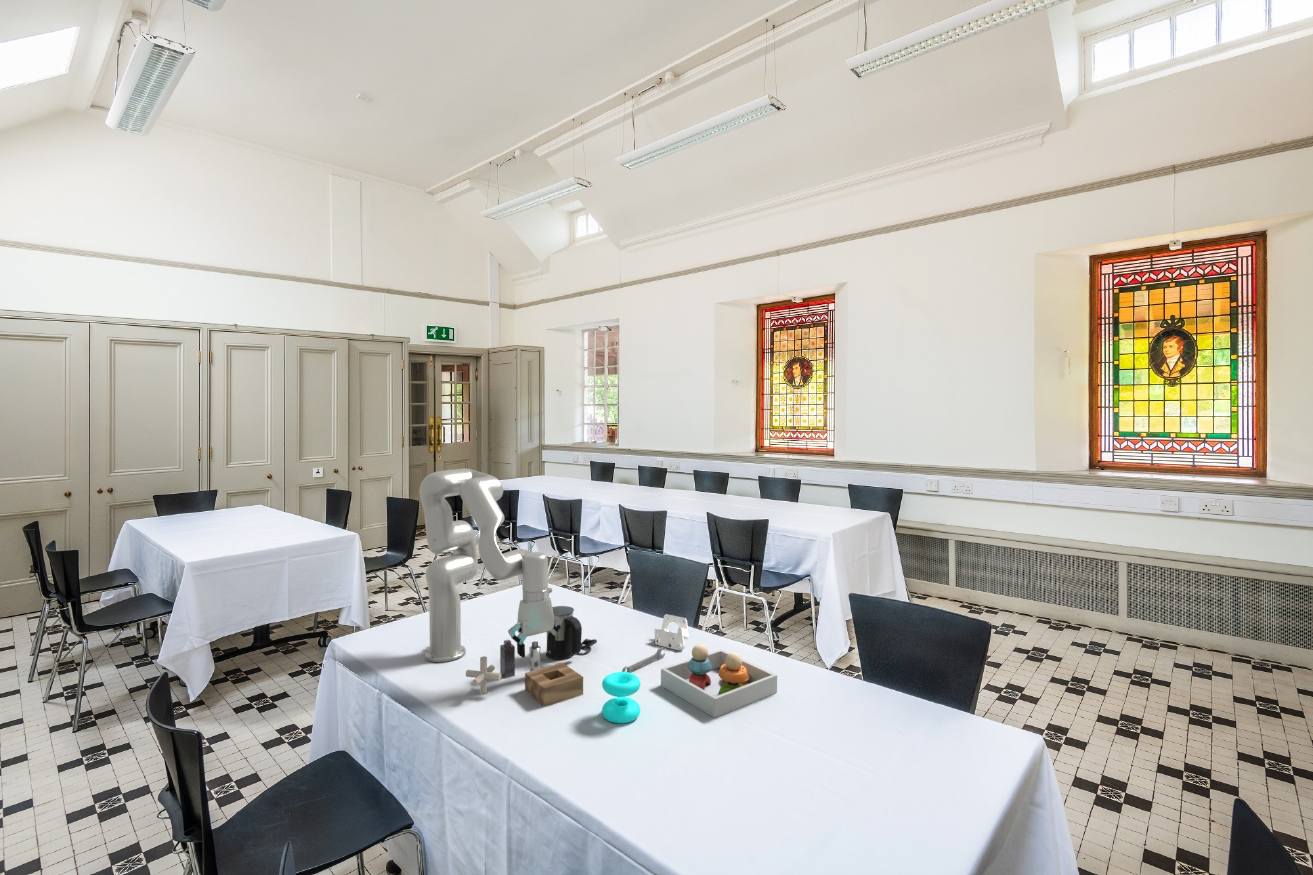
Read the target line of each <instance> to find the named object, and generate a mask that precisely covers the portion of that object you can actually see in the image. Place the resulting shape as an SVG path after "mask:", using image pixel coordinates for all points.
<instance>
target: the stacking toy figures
mask: <svg viewBox="0 0 1313 875" xmlns="http://www.w3.org/2000/svg"><path fill="white" fill-rule="evenodd" d="M708 654H709V651H708V648H707V646H705V645H704V644H702V643H701V644H695V645H694V646H693V647H692V649H691V655H692V657H691V658H690V659H691V660H690V659H689V660H690V662H689V664H688V669H689V670H690V671H691V672H692V674H691V676H690V678H688V680H687V681H688V682H690V683H692V684H694V685H696V686H697V687H699V688H701V689H703V690H705V689H706V685H711V684H712V682H711V681H712V680H711V677H710V675H709V674H708V673H709V672H710V670H711V669H712V667H711V664H710V662H709V660H708V659H707V656H708ZM718 670H719V671H718V677H719V678H720V679H721V680H723V684H722V685H721V687H720V688H719V690H718V694H717V696H718V695H721V694H723V693H726V692H729V691H731V690H734V689H737V688H739V687H742V686H744V685H747V684H749V682H750V681H749V678H750V676H749V675H748V674H747V670H746V668H745V667H744V666H742V658H741V656H740V654H738V653H735V652H731V653H730V654H728V655H727V657H726V658H725V664H723V665H722V666H721V667H719V669H718ZM711 671H712V670H711ZM705 691H706V690H705Z"/></svg>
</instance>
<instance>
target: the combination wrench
mask: <svg viewBox="0 0 1313 875" xmlns="http://www.w3.org/2000/svg"><path fill="white" fill-rule="evenodd" d="M664 649H665V647H663V646H661V647H659V648H657V651H656V652H655V653H654V654H653V655H650V656H648V657H646V658H644V659H641V660H639V661H637V662H635V663H633V664H631V665H629V666H624V667H623V668H622V671H621V672H629V673H632V671H635V670H637V669H638V668H641V667H642V666H644V665H647V664H648V663H650V662H652V661H654V660H662V659H664V657H665V655H666V653H665V652H664V653H662V651H664Z"/></svg>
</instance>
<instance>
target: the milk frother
mask: <svg viewBox="0 0 1313 875" xmlns="http://www.w3.org/2000/svg"><path fill="white" fill-rule="evenodd" d="M552 608H553V615H555V616H558V617H560V618H562V619H563V622H562V624H561V628H560V629H559V631H558V632H557V635H556V636H555V638H556V644H555V649H551V648H549V647H548V634H549V632H546V653H545V657H546V658H548V659H551V660H555V661H559V660H566V659H570V658H571V657H573V656H574V655H576V654H579V653H580V652H581V650H584V649H587V648H589V647H592V646H594V645H596V644H597V643H598V640H597V639H588V638H585V639H583V640H582V636H583V633H582V632H583V627H582V624H581V622H580V620H579V619H578V618H577V617H575V616H574V611H575V608H573V607H572V606H567V605H558V606H557V605H556V606H552ZM555 624H556V621H555V620H554V626H555Z"/></svg>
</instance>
